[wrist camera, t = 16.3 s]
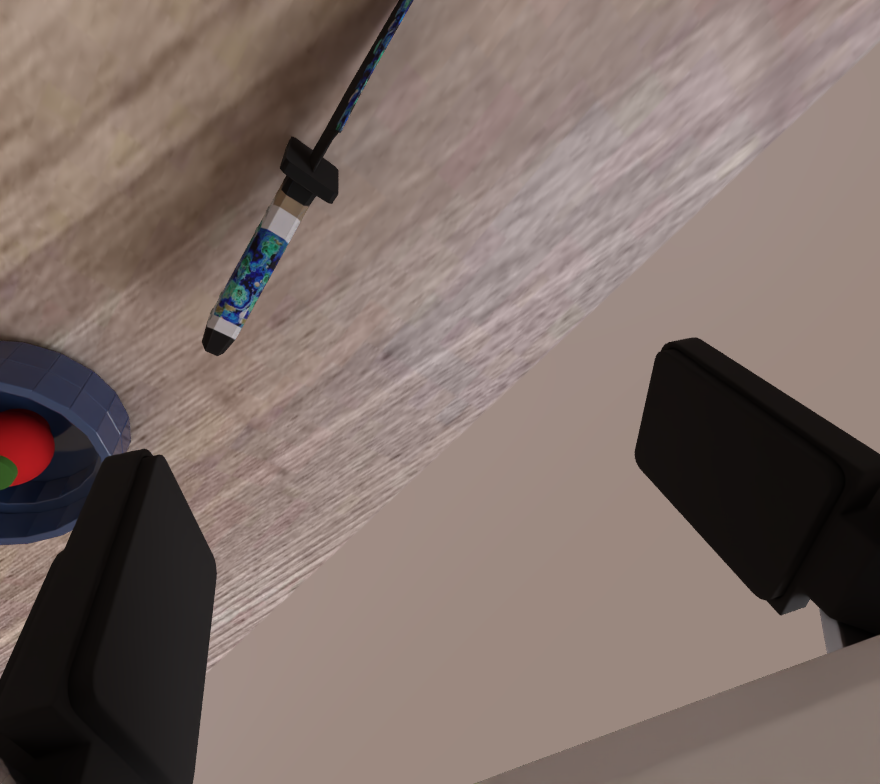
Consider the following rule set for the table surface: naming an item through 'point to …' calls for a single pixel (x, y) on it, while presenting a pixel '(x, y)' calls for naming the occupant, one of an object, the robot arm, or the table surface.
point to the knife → (289, 206)
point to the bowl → (57, 438)
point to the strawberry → (23, 446)
